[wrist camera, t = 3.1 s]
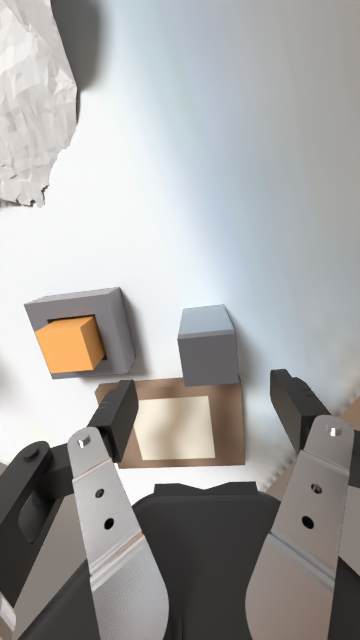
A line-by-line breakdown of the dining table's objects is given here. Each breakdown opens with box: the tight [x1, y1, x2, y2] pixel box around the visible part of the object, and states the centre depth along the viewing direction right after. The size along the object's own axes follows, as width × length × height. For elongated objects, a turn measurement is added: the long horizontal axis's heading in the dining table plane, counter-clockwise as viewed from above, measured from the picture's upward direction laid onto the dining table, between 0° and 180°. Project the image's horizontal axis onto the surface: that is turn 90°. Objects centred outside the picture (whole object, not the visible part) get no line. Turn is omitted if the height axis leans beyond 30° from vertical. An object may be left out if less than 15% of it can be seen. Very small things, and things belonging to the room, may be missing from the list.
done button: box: [35, 314, 106, 373], centre depth 20 cm, size 4×4×3 cm
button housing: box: [24, 287, 136, 379], centre depth 22 cm, size 8×8×3 cm
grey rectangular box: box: [177, 304, 239, 387], centre depth 19 cm, size 4×4×7 cm
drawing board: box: [95, 375, 245, 469], centre depth 26 cm, size 16×12×2 cm
